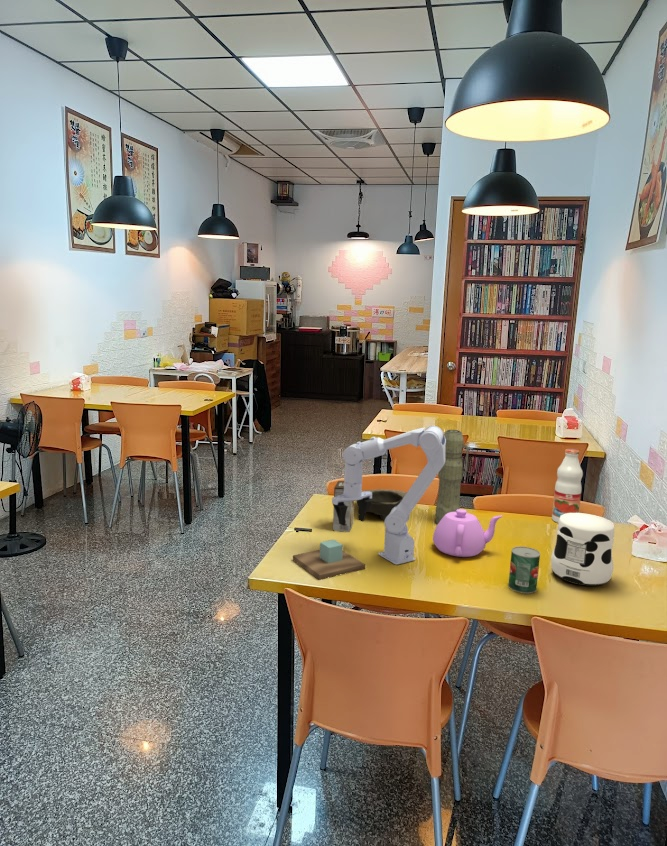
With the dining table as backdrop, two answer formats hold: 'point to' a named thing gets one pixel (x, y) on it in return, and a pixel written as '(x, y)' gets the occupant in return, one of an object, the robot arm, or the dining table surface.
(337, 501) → the robot arm
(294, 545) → the dining table surface
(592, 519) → the milk container
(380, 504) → the stone bowl
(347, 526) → the coffee box
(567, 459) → the fruit juice
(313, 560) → the walnut board
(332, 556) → the teal cube
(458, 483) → the thermos
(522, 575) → the canned tomato
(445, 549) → the teapot
